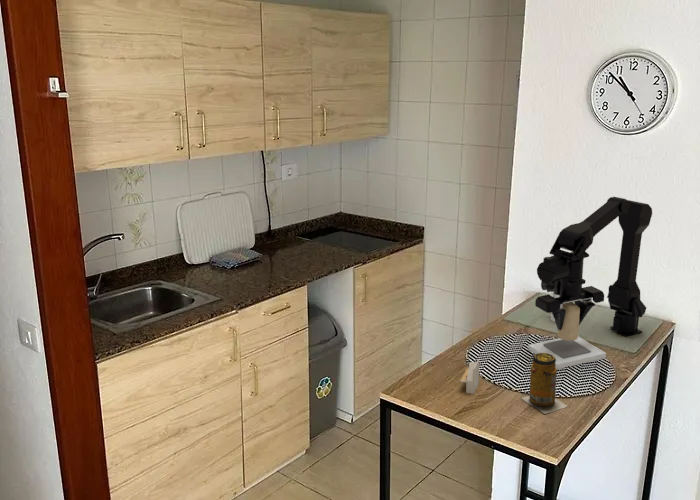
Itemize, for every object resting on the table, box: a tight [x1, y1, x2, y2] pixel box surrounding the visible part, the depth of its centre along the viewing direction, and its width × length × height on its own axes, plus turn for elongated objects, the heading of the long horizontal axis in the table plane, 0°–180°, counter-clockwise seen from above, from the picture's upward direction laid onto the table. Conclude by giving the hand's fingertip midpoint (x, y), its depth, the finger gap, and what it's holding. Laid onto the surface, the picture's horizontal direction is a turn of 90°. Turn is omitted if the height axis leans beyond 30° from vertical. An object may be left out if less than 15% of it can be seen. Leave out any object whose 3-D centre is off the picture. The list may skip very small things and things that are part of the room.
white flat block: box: [528, 336, 607, 370], centre depth 182 cm, size 16×13×2 cm
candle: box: [557, 302, 580, 341], centre depth 180 cm, size 6×6×10 cm
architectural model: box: [460, 358, 480, 395], centre depth 167 cm, size 3×7×7 cm, turn 156°
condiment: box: [520, 353, 568, 415], centre depth 157 cm, size 7×8×12 cm
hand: (568, 327), depth 180 cm, fingers closed on candle, 5 cm apart
